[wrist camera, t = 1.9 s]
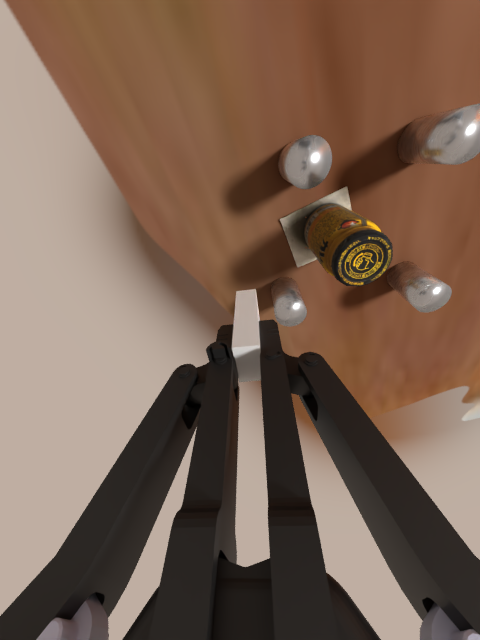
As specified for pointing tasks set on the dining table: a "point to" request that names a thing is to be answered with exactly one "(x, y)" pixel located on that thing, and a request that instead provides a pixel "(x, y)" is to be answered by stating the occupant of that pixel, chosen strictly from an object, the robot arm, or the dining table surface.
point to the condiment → (338, 240)
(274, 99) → the dining table surface
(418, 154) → the cylinder
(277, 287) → the cylinder
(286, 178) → the cylinder
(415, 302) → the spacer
